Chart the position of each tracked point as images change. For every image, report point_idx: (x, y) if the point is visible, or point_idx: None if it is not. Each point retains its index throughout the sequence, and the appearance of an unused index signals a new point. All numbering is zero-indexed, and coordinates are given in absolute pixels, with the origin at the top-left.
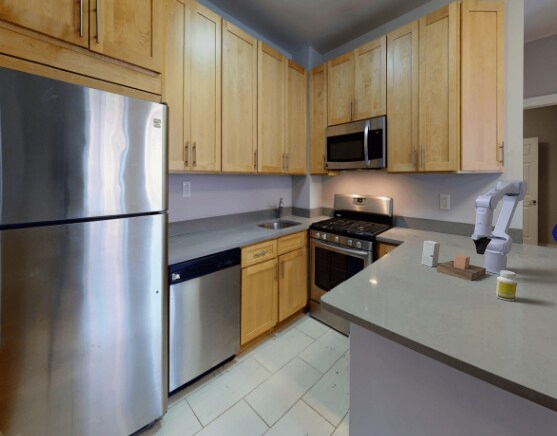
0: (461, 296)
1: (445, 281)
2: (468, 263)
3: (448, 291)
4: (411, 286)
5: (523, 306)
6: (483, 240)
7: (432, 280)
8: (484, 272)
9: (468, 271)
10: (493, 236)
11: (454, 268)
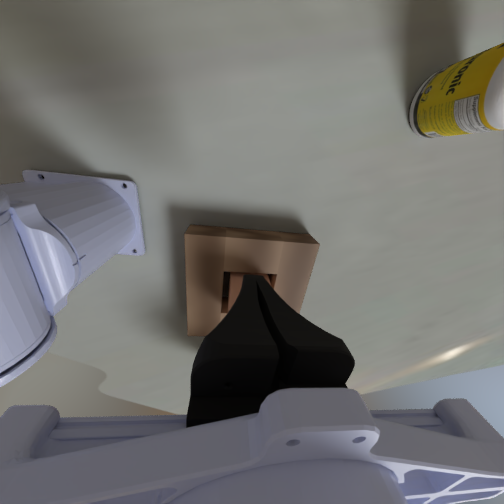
0: (475, 209)
1: (365, 276)
2: (238, 288)
3: (448, 244)
4: (450, 305)
5: (497, 27)
6: (348, 369)
7: (377, 297)
8: (199, 228)
9: (294, 261)
10: (317, 388)
11: (289, 298)
